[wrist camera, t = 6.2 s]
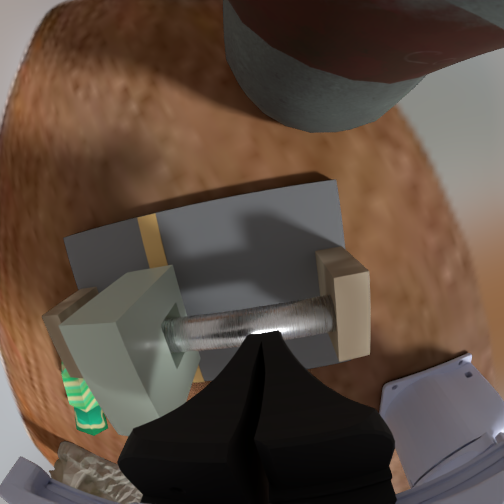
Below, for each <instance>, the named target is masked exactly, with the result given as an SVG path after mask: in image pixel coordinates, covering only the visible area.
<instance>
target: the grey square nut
mask: <svg viewBox="0 0 504 504" xmlns="http://www.w3.org/2000/svg"><path fill="white" fill-rule="evenodd" d="M185 316H187V314H186V310H185V307H184V304H183V300H182V297H181V293H180V290H179V286H178V282H177V279H176V275H175V271H174V267H173V265H167V266H162V267H156V268H150V269H144V270H138V271H133V272H127V273H126V274H124V275H123V276H122V277H120V278H119V279H118V280H116V281H115V282H114V283H112V284H111V285H110V286H108V287H107V288H106V289H104V290H103V291H102V292H100V293H99V294H98V295H96V296H95V297H94V298H93V299H91V300H90V301H89V302H87V303H86V304H85V305H84V306H82V307H81V308H80V309H79V310H77V311H76V312H75V313H73V314H72V315H71V316H70V317H68V318H67V319H66V320H65V321H64V322H62V323H61V324H60V325H59V328H60V331H61V333H62V335H63V338H64V340H65V342H66V344H67V346H68V348H69V351H70V353H71V355H72V357H73V359H74V361H75V363H76V365H77V367H78V369H79V371H80V372H81V374H82V376H83V378H84V380H85V382H86V383H87V385H88V387H89V389H90V391H91V392H92V394H93V396H94V397H95V399H96V401H97V402H98V404H99V406H100V407H101V409H102V410H103V412H104V413H105V415H106V417H107V418H108V420H109V421H110V423H111V424H112V426H113V427H114V428H115V430H116V431H117V433H118V434H119V435H125V436H129V435H130V433H131V431H132V430H133V428H135V427H138V426H141V425H143V424H146V423H148V422H150V421H153V420H155V419H157V418H160V417H162V416H164V415H165V414H167V413H169V412H171V411H173V410H175V409H176V408H178V407H179V406H181V405H183V404H184V403H186V400H187V397H188V394H189V391H190V388H191V385H192V382H193V379H194V376H195V373H196V370H197V367H198V364H199V362H200V359H201V358H200V355H199V352H198V351H189V352H174V353H170V350H169V348H168V345H167V342H166V340H165V337H164V334H163V331H162V328H161V323H162V322H163V320H164V319H166V318H176V317H185Z"/></svg>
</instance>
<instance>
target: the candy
mask: <svg viewBox="0 0 504 504" xmlns="http://www.w3.org/2000/svg"><path fill="white" fill-rule="evenodd" d="M62 378H63V382H64V386H65V390H66V393H67V397H68V400H69V403H70V405H72V406H74V412H75V420H76V427H77V430H79V431H82V432H85V433H87V434H90V435H93V436H94V435H96V434H98V433H100V432H102V431H104V430H106V429H107V428H108V425H107V421H106V417H105V415H104V413H103V410H102V409H101V407H100V406H99V404H98V402H97V401H96V399H95V397H94V396H93V394H92V392H91V391H90V389H89V387H88V385H87V383H86V382H85V380H84V379H83V378H73V377H70V375H69V374H68V372H67V370H66V368H65V366H64V364H63V362H62Z"/></svg>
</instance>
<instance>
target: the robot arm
mask: <svg viewBox="0 0 504 504" xmlns="http://www.w3.org/2000/svg"><path fill="white" fill-rule="evenodd" d="M471 359H472V355H471V354H470V353H467V354H465V355H462V356H460V357H458V358H455V359H453V360H451V361H448V362H446V363H443V364H441V365H438V366H435V367H433V368H430V369H427V370H425V371H422V372H419V373H416V374H413V375H410V376H407V377H404V378H401V379H398V380H394V381H391V382H388V383H386V384H385V385H384V386H383V389H382V397H381V404H380V411H379V413H378V411H377V410H376V409H374V408H371V407H369V406H366V405H363V404H360V403H358V402H355V401H352V400H350V399H348V398H346V397H344V396H342V395H340V394H339V393H337V392H335V391H334V390H332V389H331V388H329V387H327V386H326V385H324V384H323V383H322V382H321V381H319V380H318V379H317V378H316V377H314V376H313V375H312V374H311V373H310V372H309V371H308V370H307V369H306V368H305V367H304V366H303V365H302V364H301V363H300V362H299V361H298V360H297V358H296V357H295V356H294V354H293V353H292V352H291V350H290V349H289V348H288V346H287V344H286V343H285V341H284V339H283V337H282V333H281V332H280V331H279V330H276V331H270V332H263V333H256V334H248V335H247V336H246V338H245V339H244V341H243V342H242V344H241V346H240V347H239V349H238V350H237V351H236V353H235V354H234V356H233V357H232V358H231V360H230V361H229V362H228V364H227V365H226V366H225V367H224V369H223V370H222V371H221V372H220V373H219V374H218V375H217V377H216V378H215V379H214V380H213V381H212V382H211V383H210V384H208V385H207V386H206V387H205V388H204V389H203V390H202V391H200V392H199V393H198V394H197V395H195V396H194V397H192V398H191V399H190V400H188V401H187V402H186V403H184V404H183V405H181V406H179V407H178V408H176V409H175V410H173V411H171V412H169V413H167V414H165V415H164V416H162V417H160V418H157V419H155V420H153V421H150V422H148V423H146V424H143V425H141V426H138V427H135V428H133V430H132V431H131V433H130V435H129V437H128V439H127V441H126V443H125V445H124V448H123V450H122V452H121V454H120V456H119V459H118V462H117V463H118V466H119V469H120V470H121V472H122V473H123V474H124V476H125V477H126V478H127V479H128V480H129V481H130V482H131V483H132V484H133V485H134V486H135V487H136V488H137V489H138V490H139V491H140V492H141V493H142V494H143V496H142V499H141V501H140V503H138V502H132V503H129V504H504V401H503V399H502V398H501V396H500V395H499V394H498V392H497V391H496V390H495V389H494V388H493V387H492V386H491V384H490V383H489V382H488V381H487V380H486V379H485V378H484V377H483V376H482V374H481V373H480V372H479V371H478V370H477V369H476V368H475V367H474V366H473V365H472V364H471ZM393 386H394V387H393ZM394 449H396V451H397V454H398V456H399V459H400V461H401V464H402V467H403V469H404V472H405V474H406V477H407V480H408V482H409V485H410V488H411V489H409V490H406V491H404V492H401V493H398V494H395V492H394V489H393V486H392V483H391V479H392V473H391V470H390V467H389V464H390V462H391V459H392V455H393V452H394ZM0 496H1V497H2V498H3V499H4V500H5V501H6V502H8V503H9V504H121V503H118V502H114V501H111V500H107V499H104V498H101V497H98V496H95V495H92V494H89V493H86V492H84V491H81V490H78V489H76V488H73V487H71V486H68V485H66V484H63V483H61V482H59V481H56V480H54V479H52V478H50V476H49V475H48V474H47V473H46V472H45V471H44V470H43V469H42V468H41V467H39V466H38V465H37V464H35V463H33V462H31V461H29V460H27V459H25V458H23V457H19V459H18V460H17V462H16V463H15V464H14V466H13V467H12V469H11V470H10V472H9V473H8V475H7V476H6V477H5V479H4V480H3V482H2V483H1V485H0Z"/></svg>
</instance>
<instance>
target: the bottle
mask: <svg viewBox="0 0 504 504" xmlns="http://www.w3.org/2000/svg"><path fill="white" fill-rule="evenodd" d="M223 25H224V42H225V52H226V60H227V62H228V64H229V66H230V68H231V70H232V72H233V74H234V76H235V78H236V80H237V82H238V84H239V85H240V87H241V88H242V90H243V91H244V92H245V94H246V95H247V97H248V98H249V99H250V100H251V101H252V102H253V103H254V104H255V105H256V106H257V107H258V108H259V109H260V110H261V111H262V112H263V113H264V114H266V115H268V116H269V117H271V118H273V119H275V120H276V121H278V122H280V123H282V124H283V125H285V126H288V127H292V128H295V129H299V130H303V131H307V132H310V133H314V132H338V131H344V130H350V129H353V128H356V127H359V126H362V125H365V124H368V123H371V122H374V121H376V120H377V119H378V118H380V117H381V116H382V115H383V114H385V113H386V112H387V111H388V110H389V109H391V108H392V107H393V106H394V105H395V104H396V103H398V102H399V101H400V100H401V99H402V98H403V97H404V96H405V95H407V94H408V93H409V92H410V91H411V90H412V89H413V88H414V87H415V86H416V85H417V84H418V83H419V82H420V81H421V80H422V79H423V78H424V77H425V76H426V75H427V74H429V73H432V72H434V71H437V70H439V69H442V68H445V67H447V66H450V65H453V64H455V63H458V62H461V61H464V60H467V59H469V58H472V57H475V56H478V55H481V54H484V53H487V52H491V51H494V50H497V49H501V48H504V0H223Z"/></svg>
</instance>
